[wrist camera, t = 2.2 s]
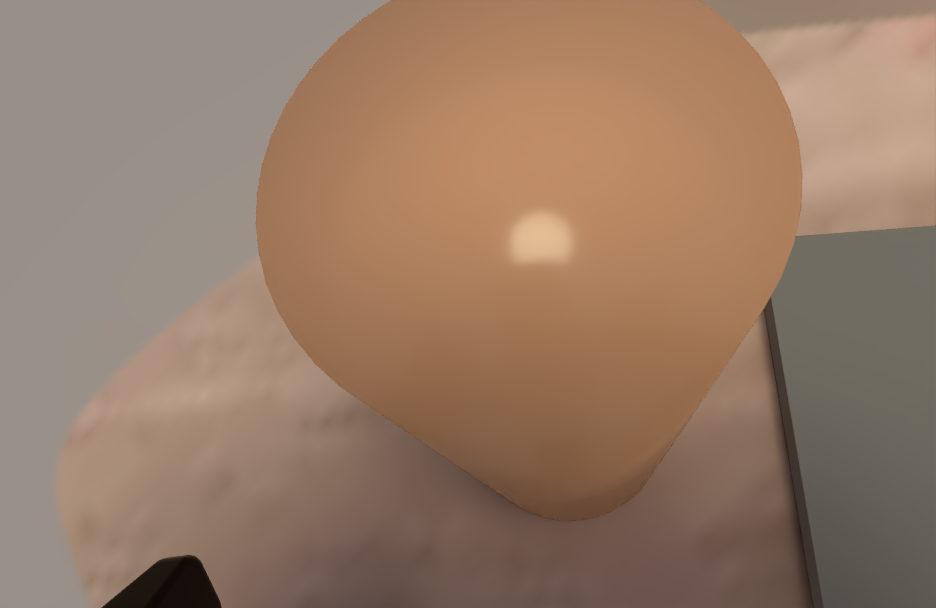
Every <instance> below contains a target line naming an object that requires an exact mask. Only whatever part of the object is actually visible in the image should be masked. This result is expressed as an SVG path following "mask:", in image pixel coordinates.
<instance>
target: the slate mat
mask: <svg viewBox="0 0 936 608" xmlns="http://www.w3.org/2000/svg"><path fill="white" fill-rule="evenodd" d="M764 310H765V316H766V322H767V328H768V334H769V340H770V346H771V352H772V358H773V364H774V370H775V376H776V382H777V388H778V394H779V400H780V407H781V413H782V419H783V425H784V431H785V437H786V443H787V449H788V455H789V461H790V467H791V473H792V479H793V485H794V491H795V497H796V504H797V510H798V516H799V522H800V528H801V534H802V540H803V546H804V552H805V558H806V564H807V570H808V576H809V582H810V588H811V594H812V601H813V607H814V608H936V226H925V227H912V228H899V229H886V230H873V231H859V232H846V233H833V234H820V235H807V236H795V241H794V245H793V247H792V250H791V253H790V255H789V258H788V261H787V263H786V266H785V269H784V271H783V274H782V277H781V279H780V281H779V282H778V284H777V286H776V288H775V290H774V291H773V293H772V295H771V297H770V299H769V300H768V302H767V304H766V306H765V308H764Z"/></svg>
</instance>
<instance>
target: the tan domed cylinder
mask: <svg viewBox="0 0 936 608" xmlns="http://www.w3.org/2000/svg"><path fill="white" fill-rule="evenodd" d="M801 198H802V166H801V158H800V149H799V141H798V137H797V134H796V130H795V127H794V123H793V120H792V116H791V113H790V109H789V107H788V105H787V103H786V101H785V99H784V96H783V94H782V92H781V90H780V88H779V86H778V83H777V81H776V80H775V78H774V76H773V75H772V73H771V72H770V70H769V69H768V67H767V66H766V64H765V63H764V61H763V60H762V58H761V57H760V55H759V54H758V53H757V52H756V50H755V49H754V48H753V47H752V46H751V45H750V44H749V43H748V41H747V40H746V39H745V38H744V37H743V36H742V35H741V34H740V32H739V31H738V30H737V29H735V28H734V27H733V26H732V25H731V24H730V23H728V22H727V21H726V20H725V19H723V17H721V16H720V15H719V14H718V13H717V12H715V11H714V10H713V9H712V8H710V7H708V6H707V5H705V4H704V3H702V2H701V1H699V0H391V1H389V2H387V3H386V4H384V5H383V6H381V7H380V8H378V9H377V10H375V11H374V12H372V13H371V14H369V15H368V16H367V17H365V18H363V19H362V20H361V21H359V22H358V23H357V24H356V25H355V26H354V27H352V28H351V29H350V30H349V31H347V32H346V33H345V34H344V35H343V36H341V37H340V38H339V39H338V40H337V41H336V42H335V43H334V44H333V45H332V46H331V47H330V48H329V49H328V50H327V51H326V52H325V53H324V54H323V55H322V56H321V57H320V58H319V60H318V61H317V62H316V63H315V64H314V66H313V67H312V69H310V71H309V72H308V73H307V75H306V76H305V77H304V78H303V80H302V81H301V82H300V84H299V85H298V87H297V88H296V90H295V92H294V93H293V95H292V96H291V98H290V100H289V101H288V103H287V104H286V106H285V108H284V109H283V112H282V114H281V116H280V118H279V120H278V123H277V125H276V127H275V129H274V131H273V133H272V136H271V139H270V141H269V145H268V148H267V151H266V154H265V157H264V160H263V163H262V168H261V174H260V180H259V185H258V191H257V206H256V230H257V241H258V250H259V256H260V260H261V264H262V268H263V272H264V276H265V280H266V284H267V286H268V288H269V291H270V293H271V296H272V298H273V300H274V303H275V305H276V308H277V310H278V312H279V314H280V316H281V317H282V319H283V321H284V322H285V324H286V326H287V327H288V329H289V330H290V332H291V334H292V335H293V337H294V339H295V340H296V341H297V342H298V344H299V345H300V346H301V347H302V348H303V350H304V351H305V352H306V353H307V355H308V356H309V357H310V358H311V359H312V361H313V362H314V363H315V364H316V365H317V366H318V367H319V368H320V369H321V370H323V371H324V372H325V373H326V374H327V375H328V376H329V377H330V378H331V379H333V380H334V381H335V382H336V383H337V384H338V385H339V386H340V387H342V388H343V389H345V390H346V391H348V392H349V393H351V394H352V395H353V396H355V397H356V398H358V399H359V400H361V401H362V402H364V403H365V404H367V405H368V406H370V407H371V408H373V409H374V410H376V411H377V412H379V413H380V414H382V415H383V416H385V417H386V418H388V419H389V420H391V421H392V422H394V423H395V424H397V425H398V426H400V427H401V428H402V429H404V430H405V431H407V432H408V433H410V434H411V435H413V436H414V437H416V438H417V439H419V440H420V441H422V442H423V443H425V444H426V445H428V446H429V447H431V448H432V449H434V450H435V451H437V452H438V453H440V454H441V455H443V456H444V457H446V458H447V459H449V460H450V461H452V462H453V463H454V464H456V465H457V466H459V467H460V468H462V469H463V470H465V471H466V472H468V473H469V474H471V475H472V476H474V477H475V478H477V479H478V480H480V481H481V482H483V483H484V484H486V485H487V486H489V487H490V488H492V489H493V490H495V491H496V492H498V493H499V494H501V495H502V496H503V497H505V498H506V499H508V500H509V501H511V502H512V503H514V504H515V505H517V506H518V507H520V508H522V509H524V510H526V511H528V512H530V513H532V514H535V515H538V516H541V517H544V518H550V519H555V520H567V521H574V520H585V519H589V518H594V517H598V516H601V515H603V514H606V513H609V512H611V511H613V510H614V509H616V508H618V507H620V506H622V505H623V504H624V503H626V502H627V501H629V500H630V499H631V498H633V497H634V496H635V495H636V494H637V493H638V492H639V491H640V490H641V489H642V487H643V486H644V485H645V484H646V482H647V481H648V480H649V478H650V477H651V475H652V474H653V472H654V471H655V469H656V468H657V467H658V465H659V464H660V462H661V461H662V459H663V458H664V456H665V455H666V453H667V452H668V450H669V449H670V447H671V446H672V444H673V443H674V441H675V440H676V438H677V437H678V435H679V434H680V432H681V431H682V429H683V428H684V427H685V425H686V424H687V422H688V421H689V419H690V418H691V416H692V415H693V413H694V412H695V410H696V409H697V407H698V406H699V404H700V403H701V401H702V400H703V398H704V397H705V395H706V394H707V392H708V391H709V389H710V388H711V387H712V385H713V384H714V382H715V381H716V379H717V378H718V376H719V375H720V373H721V372H722V370H723V369H724V367H725V366H726V364H727V363H728V361H729V360H730V358H731V357H732V355H733V354H734V352H735V351H736V349H737V348H738V347H739V345H740V344H741V342H742V341H743V339H744V338H745V336H746V335H747V333H748V332H749V330H750V329H751V327H752V326H753V324H754V323H755V321H756V320H757V318H758V317H759V315H760V314H761V312H762V311H763V309H764V308H765V306H766V304H767V302H768V300H769V299H770V297H771V295H772V293H773V291H774V290H775V288H776V286H777V284H778V282H779V281H780V279H781V277H782V274H783V271H784V269H785V266H786V263H787V261H788V258H789V255H790V253H791V250H792V247H793V245H794V241H795V236H796V231H797V226H798V221H799V216H800V211H801Z"/></svg>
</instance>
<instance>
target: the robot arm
mask: <svg viewBox="0 0 936 608" xmlns="http://www.w3.org/2000/svg"><path fill="white" fill-rule="evenodd" d="M102 608H221V603H220V600H219V598H218V596H217V594H216V592H215V590H214V588H213V586H212V584H211V581H210V579H209V577H208V575H207V573H206V571H205V569H204V567H203V565H202V563H201V561H200V560H199V559H198V558H197V557H195V556H192V555H184V556H177V557H169V558H164V559H161V560H159V561H158V562H156V563H155V564H154V565H153V566H151V567H150V568H149V569H148V570H147V571H145V572H144V573H143V574H142V575H141V576H139V577H138V578H137V579H136V580H134V581H133V582H132V583H131V584H130V585H128V586H127V587H126V588H125V589H124V590H122V591H121V592H120V593H119V594H118V595H116V596H115V597H114V598H113V599H111V600H110V601H109V602H108V603H107V604H105V605H104V606H103V607H102Z"/></svg>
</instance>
